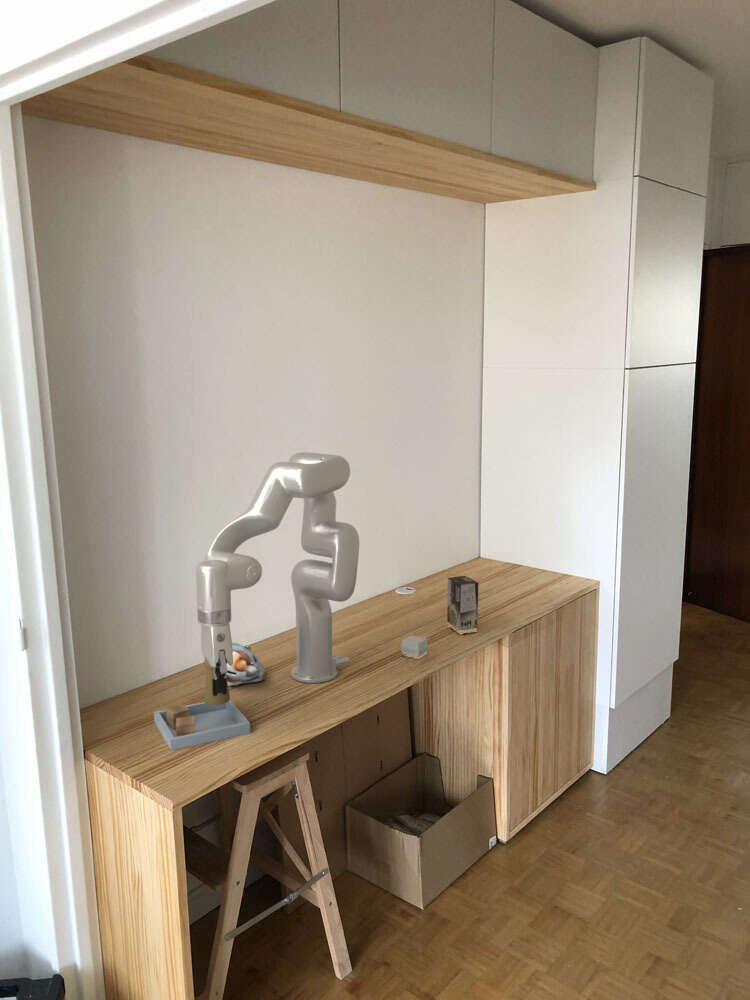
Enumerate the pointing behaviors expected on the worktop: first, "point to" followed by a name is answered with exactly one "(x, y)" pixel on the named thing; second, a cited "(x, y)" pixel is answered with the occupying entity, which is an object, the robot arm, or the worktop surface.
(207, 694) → the cork
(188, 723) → the walnut block
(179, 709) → the walnut block
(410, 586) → the worktop surface
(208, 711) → the tray
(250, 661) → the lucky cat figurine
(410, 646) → the small box
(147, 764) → the worktop surface
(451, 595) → the coffee box
